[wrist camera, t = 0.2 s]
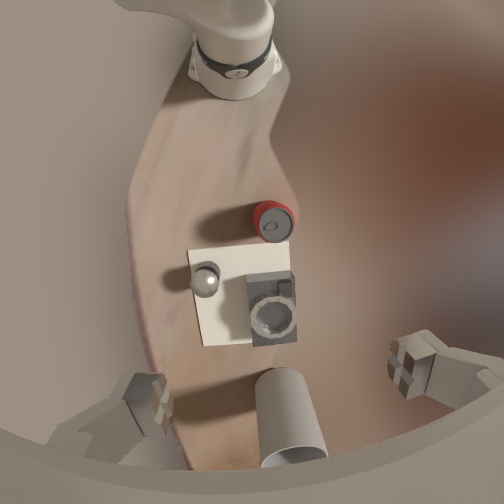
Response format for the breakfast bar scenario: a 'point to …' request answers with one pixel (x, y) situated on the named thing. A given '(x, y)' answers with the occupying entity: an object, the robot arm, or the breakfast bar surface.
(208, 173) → the breakfast bar surface
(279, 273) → the camera body
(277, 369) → the cylinder vase
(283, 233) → the beer can
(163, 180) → the breakfast bar surface
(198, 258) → the mat
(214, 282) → the lens
